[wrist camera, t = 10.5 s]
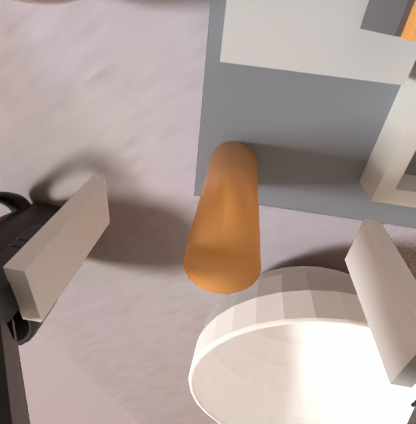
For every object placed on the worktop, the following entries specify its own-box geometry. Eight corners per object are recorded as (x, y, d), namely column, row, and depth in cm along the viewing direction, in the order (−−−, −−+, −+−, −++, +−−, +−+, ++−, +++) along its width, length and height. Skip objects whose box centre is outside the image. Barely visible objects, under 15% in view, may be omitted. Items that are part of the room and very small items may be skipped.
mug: (36, 136, 23) (-75, 203, 15) (110, 253, 29) (57, 343, 21) (-42, 162, 25) (-173, 232, 18) (41, 265, 31) (-28, 351, 24)
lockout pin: (212, 137, 20) (185, 231, 12) (261, 144, 20) (268, 243, 12) (208, 180, 22) (181, 287, 14) (252, 187, 22) (253, 298, 13)
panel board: (235, -239, 12) (228, -327, 9) (758, -195, 12) (960, -275, 8) (197, 185, 24) (188, 214, 21) (458, 224, 23) (493, 260, 20)
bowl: (200, 346, 36) (186, 430, 29) (207, 218, 26) (189, 301, 18) (362, 369, 35) (391, 464, 28) (442, 244, 24) (522, 345, 17)
